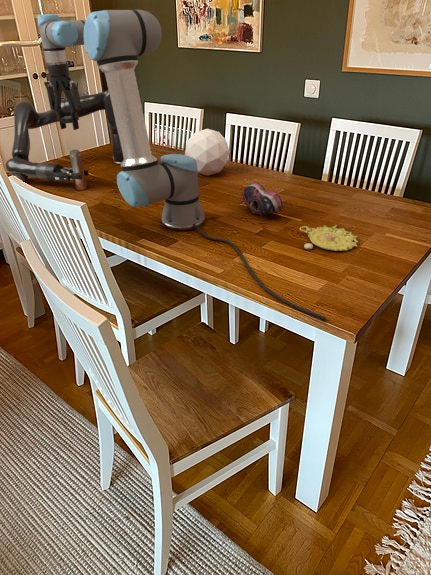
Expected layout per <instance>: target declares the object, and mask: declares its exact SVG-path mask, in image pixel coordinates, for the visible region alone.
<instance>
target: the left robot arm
mask: <svg viewBox="0 0 431 575" xmlns="http://www.w3.org/2000/svg"><path fill="white" fill-rule="evenodd" d="M79 97H80V102H81V107H82V109H81V110H78V117H79V119H80V118H84V117H86V116H89V115H91V114H93V113H96V112H99V111H105V117H106V121H107V125H108V130H109V137H110V144H111V150H112V159H113V163H114V164H115V165H121V163H122V162H123V160H124V157H123V152H122V148H121V143H120V139H119V134H118V130H117V126H116V121H115V117H114V112H113V108H112V103H111V99H110V94H109V90H108V89H107V90H105V91H102V92H98V93H94V94H83V95H79ZM13 109H14V110H13V111H14V112H13V120H14V136H13V142H12V143H13V144H12V149H11V158H9V159H7V160H6V162H5V169H6V170H7V172H8V173H9V174H10V175H11V176H12V177H14V176H16V177H18V178H19V179H21V180H22V181H21V182H24V181H26V180H27V179H28V178H29V179H32V180H41V181H44V182H45V181H46V182H57V183H60V182H70V181H73V180H74V179H77V180H81V179H82V175H81V174H74V173H73V171H72V166H70V167H63V166H62V164H60V163H54V162H33V161H30V158H29V156H30V151H31V139H30V131H29V130H34V129H38V128H41V127H45V126H49V125H51V124H55V123H60V122H59V120H58V119H57V115H56V111H55V110H52V109H51V108H50V109H49V110H47V111H44V112H38V111H37V110H36V109H35V107H34V105H33V104H32V102H29V101H26V100H25V101H20V102H18V103H17V104H16V105H15V107H14V108H13ZM61 109H62V111H63V113H64V116H71V114H70V112H71V111H72V110H71V108H70V105H69V103H68V100H67V98H66V97H65V98H61ZM60 111H61V110H60ZM89 173H90V172H89V170H87V169H84V174H85V177H87V176H89V175H90V174H89Z"/></svg>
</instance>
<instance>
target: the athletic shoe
mask: <svg viewBox="0 0 431 575" xmlns="http://www.w3.org/2000/svg"><path fill="white" fill-rule="evenodd" d="M241 197H242V199H243V201H238V203H239V204H241V205H245V206H246V207H247V208H248V210H249V211H250V210H251V213H252V214H255V215H260V217H266V216H267V215H270V214H274V213H275V212H279V211H282V210H283V209H284V205H283V201H282V198H281V196H280V195H279V194H278V192H277V191H274V190H269V191H267V190H266V189H265V187H264V186H263V185H262V184H261V183H258V182H251V183H249V184H247V186H246V187H245V188H244V190H243V191H242V192H241Z"/></svg>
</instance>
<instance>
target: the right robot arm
mask: <svg viewBox="0 0 431 575" xmlns="http://www.w3.org/2000/svg"><path fill="white" fill-rule="evenodd" d="M36 18H37V27H38V30H39V31H38V32H39V35H40V39H41V44H42V49H43V55H44V60H45V63H46V64H47V65H46V68H47V73H48V76H49V80H48V81H44V82H43V83H44V87H45V89H46V94H47V98H48V103H49V108H50V110H51V109H52V110H55V111H56V115H57V119H58V120H59V122H58V123H59V126H60V130H65V129H67V123H62V122H61V117H64V113H63V111H62V109H61V100H62V93H63V94H64V95H65V98H67V100H68V103H69V105H70V108H71V110H72V111H71V112H70V114H71V119H72V123H71V124H72V128H73V129H72V130H73V131H77V130H79V129H80V126H79V120H80V118H79V117H78V110H81V109H82V107H81V102H80V97H79V96H80V91H79V82H78V81H73V80H72V79H71V76H70V67H69V64H68V63H67V62H68V58H67V53H66V48H71V47H73V46H84V49H85V52H86V54H87V56H88V58H89V59H90V60H91V61H94V62H96V66H97V69H98V70H99V71H101V72H102V73H103V74H104V77H105V80H106V85H107V90H109V94H110V99H111V103H112V108H113V112H114V117H115V121H116V126H117V130H118V134H119V139H120V143H121V148H122V152H123V157H124V160H123V162H122V163H121V164H119V166H120V170H121V171H119V173H117V175H116V184H117V187H118V190H119V192H120V195H121V196H122V198H123V200H124V201H125V202H126V203H127V204H128V205H129V206H130V207H132V208H141V207H147V206H149V205H152V204H156V203H159V202H162V201H164V204H163V209H162V213H161V219H160V220H161V225H162V227H163V228H165V229H167V230H170V231H175V232H176V231H177V232H185V231H186V232H187V231H192V230H195V229H196V230H197V231H198V232H199V233H200V234H201V235H202V236H203V237H204V238H207V239H209V240H212V241H218V242H224V243H227V244H229V245H231V246H232V247H233V249H234V250H235V251H236V254H237V255H238V256H239V258H240V259H241V261H242V262H243V264H244V266H245V267H246V269H247V271H248V272H249V273H250V275H251V276H252V279H254V280H255V281H256V282H257V284H258V285H259V286H260V287H261V288H262V289H264V291H265V292H267V293H269V294H270V295H272V296H273V297H274V298H276V299H277V300H279V301H281V302H283V303H285V304H287V305H289V306H291V307H293V308H294V309H297V310H299V311H300V312H303V313H306V314H308V315H311V316H314V317H316V318H319V319H322V320H323V321H324V320H326V316H324V315H321V314H319V313H317V312H314V311H311V310H309V309H306V308H304V307H301V306H300V305H297V304H296V303H292V302H291V301H288V300H287V299H285V298H283V297H281V296H280V295H278V294H276V293H275V292H273V290H271V289H270V288H268V287H267V286H266V285H265V284H264V283H263V282H262V281H261V280H260V279H259V278H258V277H257V276H256V274H255V273H254V271H253V270H252V269H251V267H250V266H249V264H248V262H247V261H246V259H245V258H244V256H243V254H242V253H241V252H240V251H239V250H240V249H239V248H238V247H237V246H236V244H235V243H233V242H232V241H230V240H228V239H224V238H218V237H212V236H209V235H208V234H206V233H205V232H204V231H203V230H202V229H201V227H202V226H203V225H204V224H205V223H206V215H205V212H204V210H203V208H202V204H201V202H200V196H199V176H198V174H199V173H197V172H198V170H197V163H196V160H195V159H194V158H192V157H190V156H186V155H185V154H178V153H177V154H175V153H171V154H165V155H162V156H161V157H160V162H159V160H158V158H157V157H156V156H154V155H153V153H152V150H151V146H150V141H149V136H148V131H147V125H146V119H145V116H144V110H143V105H142V101H141V96H140V91H139V90H140V89H139V85H138V80H137V75H136V70H135V69H136V67H137V65H138V63H139V59H138V57H141V56H147V55H149V54H152V53H153V52H155V50H157V48H158V47H159V45H160V44H161V41H162V34H163V33H162V32H163V31H162V26H161V24H160V22H159V20H158V19H157V17H156V16H154V15H153V14H152V13H151V12H150V11H147V10H144V9H103V10H97V11H91V12H90V13H89V14H88V15H87V16H86V19H75V20H74V19H73V20H61V19H60V16H59V15H58V14H57V13H54V14H53V13H52V14H51V13H50V14H49V13H48V14H38V15H37V17H36ZM60 110H61V111H60Z"/></svg>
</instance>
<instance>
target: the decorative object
mask: <svg viewBox="0 0 431 575" xmlns="http://www.w3.org/2000/svg"><path fill="white" fill-rule="evenodd" d="M303 228H304V229H305V230H304V229H303ZM299 231H300V232H303V233H305V234H307V237H308V238H309V240H310V241H311V243H304V244H303V248H304V249H305V250H313V249H314V245H315V246H316V247H318V248H321V249H324V250H328V251H335V252H341V251H348V250H352V249H354V247H356V248H358V247H359V245H358V244H357V243H359V240H357V238H359V237H358V235H353V234H352V231H347V230H346V229H345V228H344V227H342V228H338V224H335V225H333V226H331V227H328V226H327V225H326V224H325V225H323V226H322V227H321V226H317V227H316V228H314V227H309V226H308V225H302V226H300V227H299ZM313 244H314V245H313Z"/></svg>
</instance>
